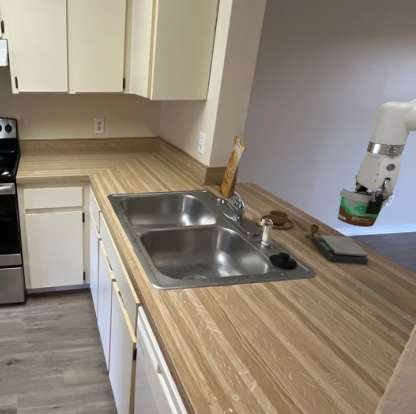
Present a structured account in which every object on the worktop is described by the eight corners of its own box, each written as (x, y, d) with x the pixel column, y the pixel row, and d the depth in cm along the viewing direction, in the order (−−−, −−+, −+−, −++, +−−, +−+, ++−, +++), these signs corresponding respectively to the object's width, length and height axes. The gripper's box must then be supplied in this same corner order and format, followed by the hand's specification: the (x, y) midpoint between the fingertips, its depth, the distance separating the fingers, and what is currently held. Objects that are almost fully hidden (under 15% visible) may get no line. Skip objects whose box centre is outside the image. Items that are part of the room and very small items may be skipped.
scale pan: (349, 239, 118) (349, 237, 117) (368, 256, 107) (368, 254, 107) (319, 236, 119) (320, 234, 119) (335, 253, 108) (335, 251, 108)
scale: (346, 246, 119) (348, 239, 118) (366, 266, 108) (368, 258, 107) (312, 243, 121) (314, 236, 120) (328, 262, 110) (331, 255, 108)
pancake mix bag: (233, 187, 176) (242, 135, 165) (237, 200, 159) (247, 143, 148) (219, 186, 178) (227, 134, 167) (222, 199, 161) (231, 142, 150)
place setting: (291, 218, 141) (294, 205, 139) (318, 241, 123) (322, 227, 120) (249, 218, 141) (252, 205, 139) (270, 241, 123) (274, 226, 121)
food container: (340, 226, 98) (350, 195, 94) (332, 217, 104) (341, 188, 100) (388, 230, 96) (401, 198, 92) (377, 221, 101) (388, 190, 97)
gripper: (423, 157, 82) (398, 222, 89) (380, 142, 98) (362, 198, 105) (389, 156, 83) (367, 220, 91) (352, 142, 99) (336, 197, 106)
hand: (364, 208), depth 98 cm, fingers closed on food container, 6 cm apart
